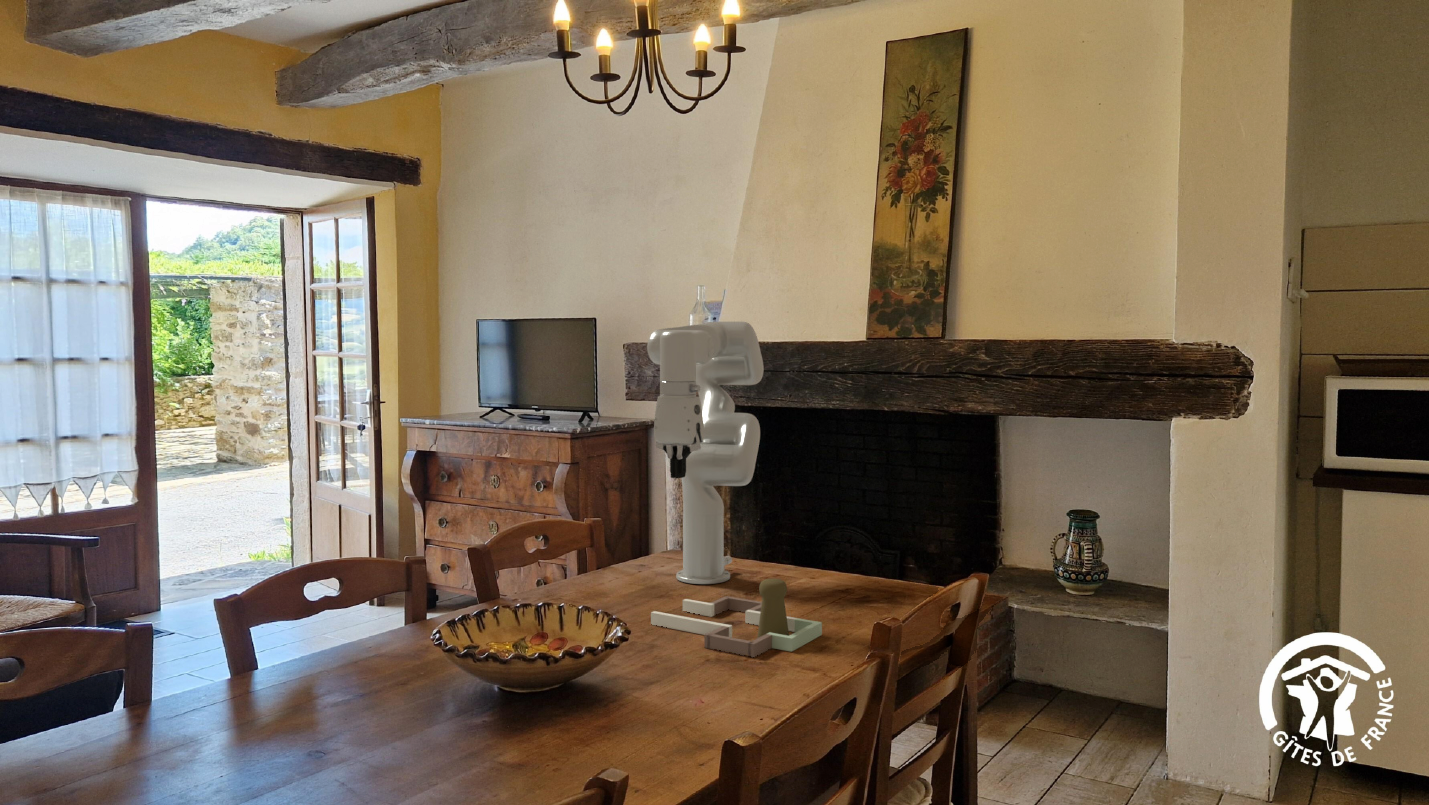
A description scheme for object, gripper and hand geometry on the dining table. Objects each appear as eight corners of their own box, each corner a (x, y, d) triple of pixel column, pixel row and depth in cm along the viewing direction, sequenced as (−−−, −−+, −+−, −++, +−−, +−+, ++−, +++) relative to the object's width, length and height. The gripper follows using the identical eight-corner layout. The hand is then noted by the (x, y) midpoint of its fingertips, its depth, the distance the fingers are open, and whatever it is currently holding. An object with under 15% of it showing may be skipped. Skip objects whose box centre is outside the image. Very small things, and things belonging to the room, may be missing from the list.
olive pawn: (791, 633, 188) (791, 576, 187) (787, 643, 182) (786, 584, 181) (760, 631, 189) (759, 575, 188) (755, 641, 183) (754, 583, 182)
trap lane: (703, 603, 209) (703, 592, 209) (836, 626, 193) (836, 614, 193) (630, 632, 188) (630, 620, 188) (773, 661, 172) (773, 648, 171)
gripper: (718, 390, 205) (717, 478, 206) (659, 388, 213) (659, 472, 214) (698, 392, 199) (698, 482, 200) (638, 389, 207) (638, 476, 208)
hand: (678, 477), depth 207 cm, fingers closed
